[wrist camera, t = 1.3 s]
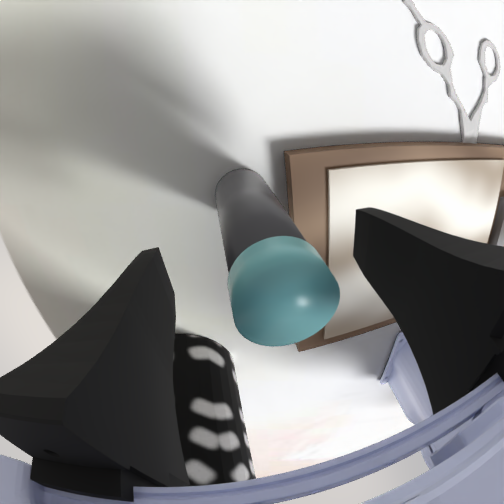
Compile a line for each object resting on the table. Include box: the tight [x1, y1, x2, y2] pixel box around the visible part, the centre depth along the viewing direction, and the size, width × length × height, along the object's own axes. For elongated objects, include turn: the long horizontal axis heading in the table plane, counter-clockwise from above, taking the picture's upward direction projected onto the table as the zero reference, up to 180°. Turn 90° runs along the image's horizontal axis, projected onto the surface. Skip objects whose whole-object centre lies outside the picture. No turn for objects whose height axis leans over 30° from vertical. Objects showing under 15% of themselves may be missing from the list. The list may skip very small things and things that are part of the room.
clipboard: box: [284, 142, 504, 352], centre depth 19 cm, size 15×24×2 cm, turn 97°
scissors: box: [403, 0, 500, 144], centre depth 15 cm, size 11×1×20 cm
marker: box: [215, 169, 340, 346], centre depth 11 cm, size 3×3×9 cm
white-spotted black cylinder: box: [173, 334, 256, 486], centre depth 13 cm, size 8×8×20 cm
